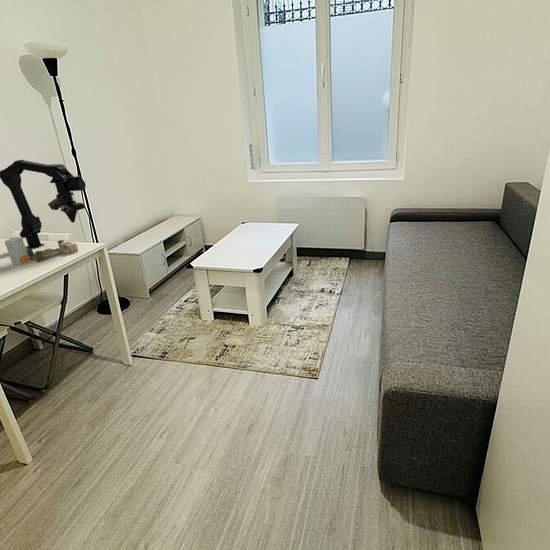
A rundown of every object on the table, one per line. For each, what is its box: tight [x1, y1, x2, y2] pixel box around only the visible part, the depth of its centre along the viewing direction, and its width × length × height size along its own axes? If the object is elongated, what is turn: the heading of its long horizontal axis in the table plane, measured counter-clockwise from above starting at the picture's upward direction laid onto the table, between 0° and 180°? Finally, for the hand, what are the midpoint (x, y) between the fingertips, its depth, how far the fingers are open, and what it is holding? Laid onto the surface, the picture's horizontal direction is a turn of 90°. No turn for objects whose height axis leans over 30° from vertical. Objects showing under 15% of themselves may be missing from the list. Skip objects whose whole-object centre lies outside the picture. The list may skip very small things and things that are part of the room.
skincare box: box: [4, 236, 31, 267], centre depth 176 cm, size 6×4×12 cm
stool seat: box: [26, 247, 63, 263], centre depth 185 cm, size 11×13×4 cm
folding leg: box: [57, 239, 79, 255], centre depth 189 cm, size 12×4×5 cm, turn 56°
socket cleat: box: [57, 247, 72, 256], centre depth 187 cm, size 7×2×2 cm, turn 59°
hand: (73, 222), depth 194 cm, fingers closed
